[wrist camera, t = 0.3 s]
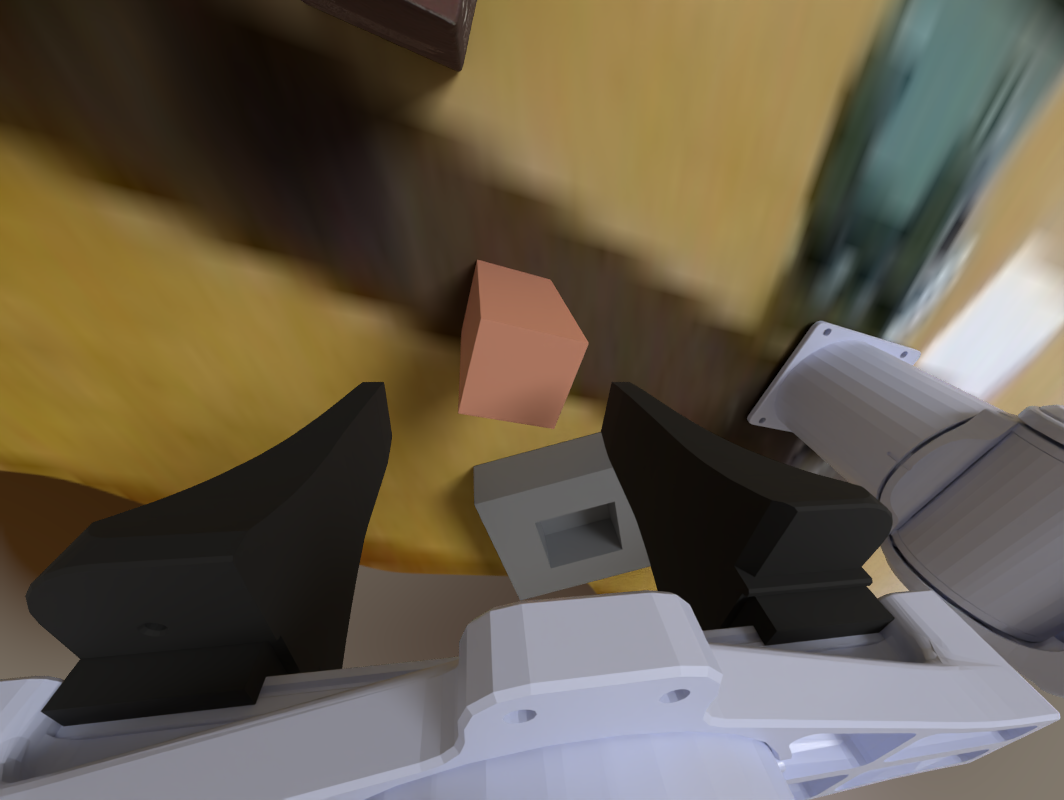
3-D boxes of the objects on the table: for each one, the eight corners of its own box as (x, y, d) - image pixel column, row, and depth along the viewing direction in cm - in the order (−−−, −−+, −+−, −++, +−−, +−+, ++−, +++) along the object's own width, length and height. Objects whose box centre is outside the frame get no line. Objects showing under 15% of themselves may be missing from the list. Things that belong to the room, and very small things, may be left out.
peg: (550, 279, 21) (588, 343, 14) (529, 346, 23) (554, 429, 16) (477, 259, 20) (480, 318, 13) (461, 330, 22) (457, 413, 15)
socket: (638, 421, 27) (659, 455, 24) (648, 526, 34) (664, 562, 31) (473, 466, 27) (474, 504, 24) (515, 561, 34) (520, 600, 31)
